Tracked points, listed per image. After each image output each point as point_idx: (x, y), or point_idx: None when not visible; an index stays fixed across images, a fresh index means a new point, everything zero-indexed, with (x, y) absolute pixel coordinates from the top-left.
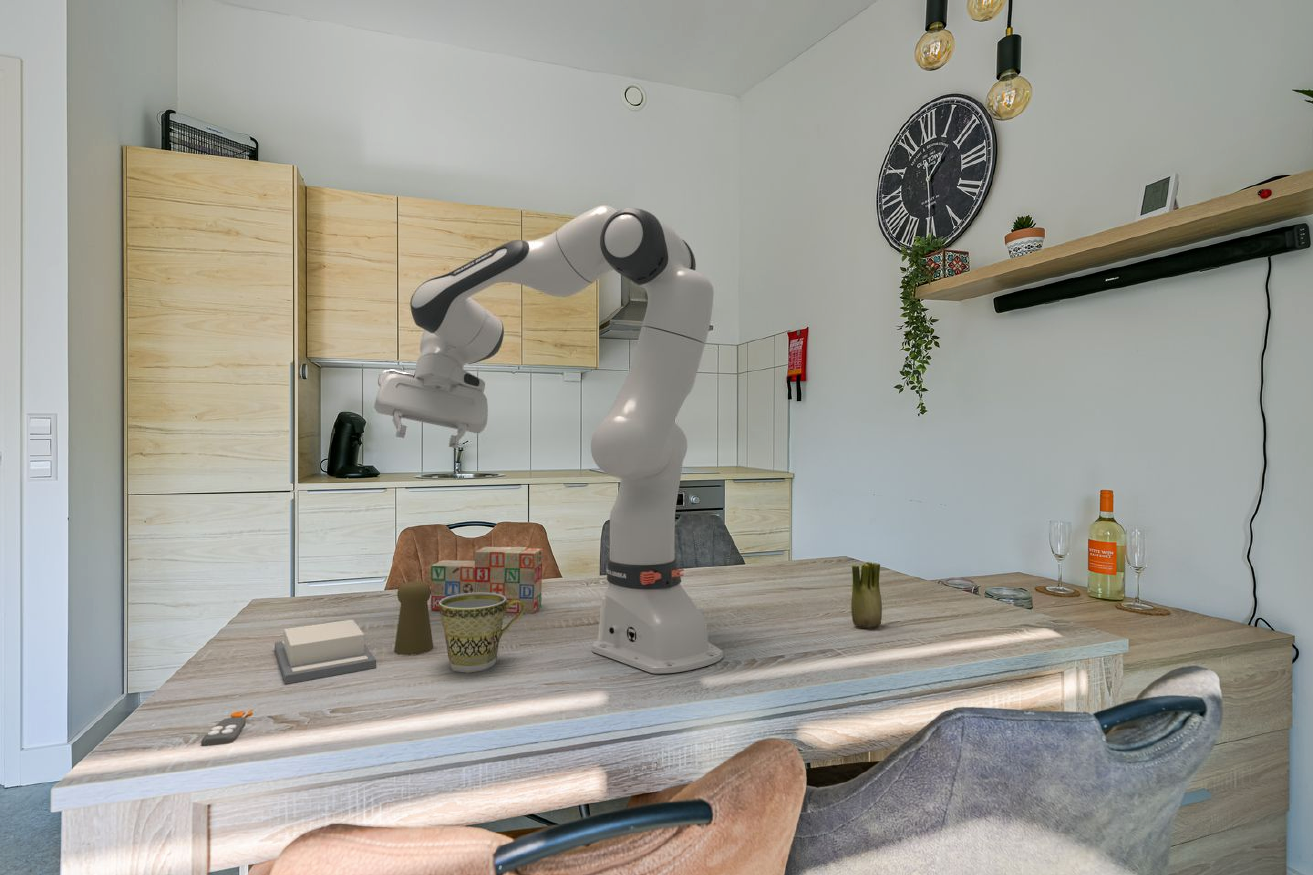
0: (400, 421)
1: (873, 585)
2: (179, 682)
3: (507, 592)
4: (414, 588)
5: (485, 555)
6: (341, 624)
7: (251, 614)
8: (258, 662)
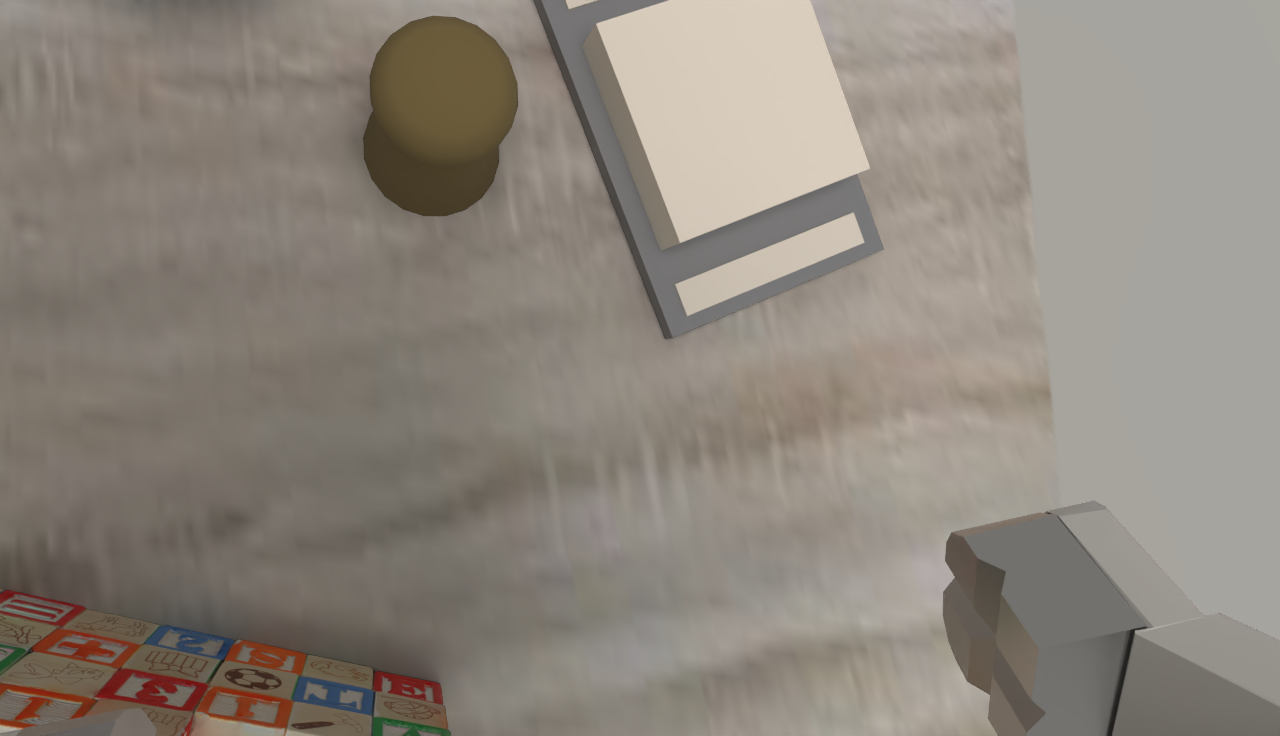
0: (1230, 680)
1: None
2: (1006, 17)
3: (32, 630)
4: (436, 18)
5: None
6: (702, 179)
7: None
8: (877, 136)
